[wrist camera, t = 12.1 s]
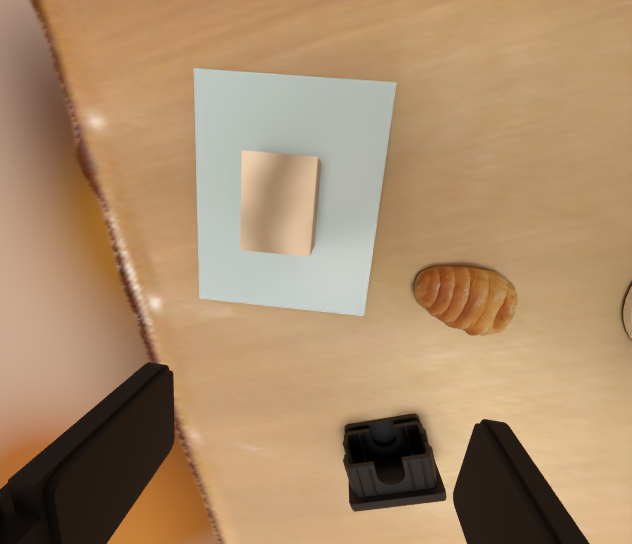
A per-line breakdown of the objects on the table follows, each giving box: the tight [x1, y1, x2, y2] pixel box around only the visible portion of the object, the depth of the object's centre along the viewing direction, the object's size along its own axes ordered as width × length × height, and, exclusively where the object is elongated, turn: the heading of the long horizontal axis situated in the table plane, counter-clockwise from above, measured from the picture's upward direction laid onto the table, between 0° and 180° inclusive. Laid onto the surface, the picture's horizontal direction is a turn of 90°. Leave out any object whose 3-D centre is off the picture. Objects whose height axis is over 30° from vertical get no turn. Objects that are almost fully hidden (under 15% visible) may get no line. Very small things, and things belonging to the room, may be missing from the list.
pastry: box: [414, 266, 517, 336], centre depth 29 cm, size 9×7×4 cm
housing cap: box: [240, 150, 321, 257], centre depth 26 cm, size 6×8×5 cm
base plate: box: [194, 68, 397, 316], centre depth 28 cm, size 18×22×4 cm
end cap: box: [343, 414, 446, 512], centre depth 34 cm, size 10×7×7 cm
